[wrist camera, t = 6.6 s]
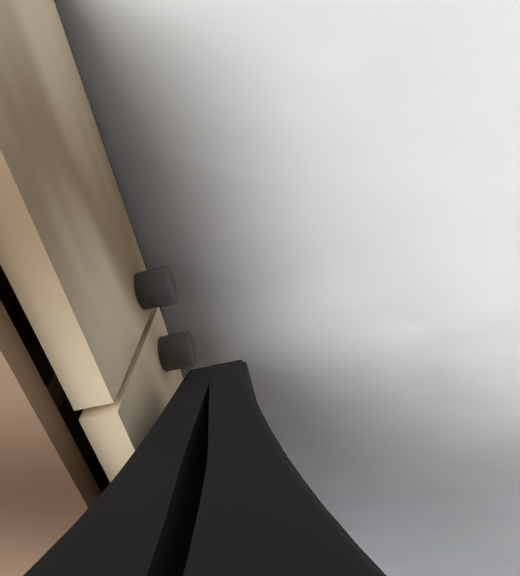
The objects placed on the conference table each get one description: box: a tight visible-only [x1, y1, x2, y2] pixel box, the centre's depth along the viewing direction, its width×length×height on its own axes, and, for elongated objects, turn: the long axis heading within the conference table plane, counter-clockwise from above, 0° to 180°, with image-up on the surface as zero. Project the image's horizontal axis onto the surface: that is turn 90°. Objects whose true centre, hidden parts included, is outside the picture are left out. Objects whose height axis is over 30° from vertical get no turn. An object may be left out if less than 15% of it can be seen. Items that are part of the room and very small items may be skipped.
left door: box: [79, 307, 195, 483], centre depth 11 cm, size 8×1×5 cm, turn 12°
